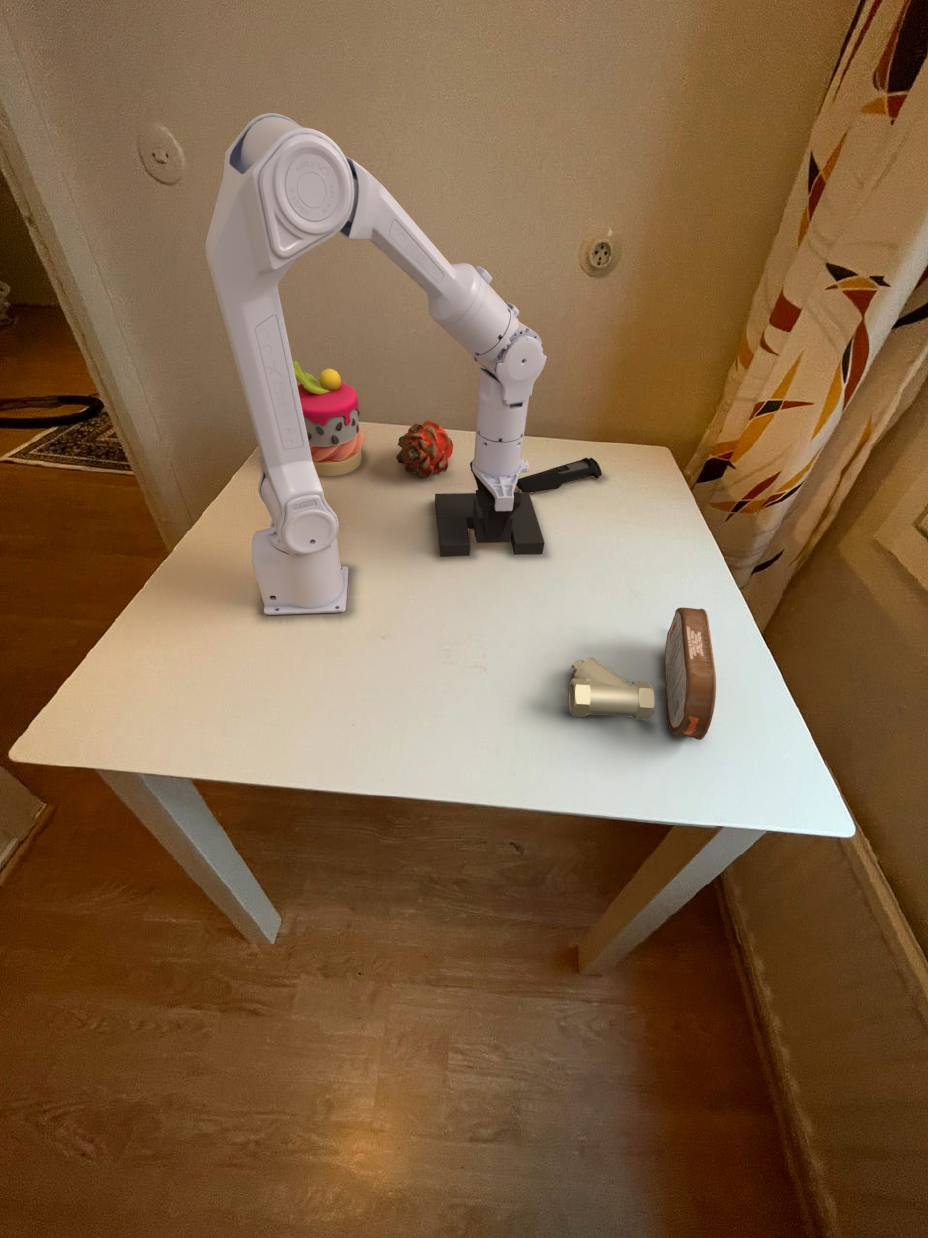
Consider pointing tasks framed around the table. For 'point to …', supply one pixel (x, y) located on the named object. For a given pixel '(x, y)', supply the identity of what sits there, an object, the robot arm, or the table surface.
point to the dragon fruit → (425, 449)
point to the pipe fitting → (607, 693)
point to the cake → (330, 422)
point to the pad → (480, 531)
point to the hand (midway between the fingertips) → (490, 524)
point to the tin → (690, 674)
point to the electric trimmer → (559, 476)
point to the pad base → (458, 518)
